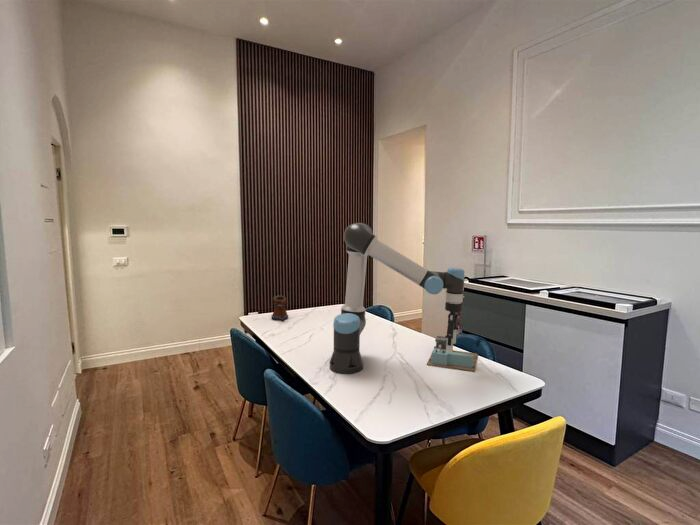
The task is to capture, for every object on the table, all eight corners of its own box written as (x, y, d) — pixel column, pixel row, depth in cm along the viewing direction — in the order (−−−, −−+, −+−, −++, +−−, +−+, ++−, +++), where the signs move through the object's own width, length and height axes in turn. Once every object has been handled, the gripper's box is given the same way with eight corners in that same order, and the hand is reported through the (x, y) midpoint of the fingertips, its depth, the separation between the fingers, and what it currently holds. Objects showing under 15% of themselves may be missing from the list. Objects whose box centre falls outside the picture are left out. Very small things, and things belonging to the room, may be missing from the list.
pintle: (441, 364, 177) (442, 346, 176) (436, 363, 178) (436, 345, 177) (442, 362, 179) (442, 344, 178) (437, 361, 180) (437, 344, 179)
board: (474, 372, 168) (474, 370, 168) (426, 365, 175) (426, 363, 175) (477, 354, 190) (477, 353, 190) (434, 349, 198) (435, 348, 198)
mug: (293, 322, 247) (292, 299, 245) (275, 323, 242) (275, 300, 241) (286, 315, 263) (286, 294, 262) (269, 317, 259) (269, 295, 257)
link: (431, 363, 176) (431, 352, 176) (433, 358, 183) (434, 348, 182) (472, 369, 170) (472, 358, 169) (473, 363, 176) (473, 353, 176)
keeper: (450, 356, 186) (451, 342, 185) (433, 353, 189) (434, 340, 188) (452, 350, 194) (453, 337, 193) (436, 348, 197) (436, 335, 196)
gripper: (459, 308, 160) (456, 357, 163) (464, 298, 183) (461, 340, 186) (441, 306, 163) (438, 354, 165) (448, 296, 186) (446, 338, 188)
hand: (450, 347), depth 175 cm, fingers open, 13 cm apart
